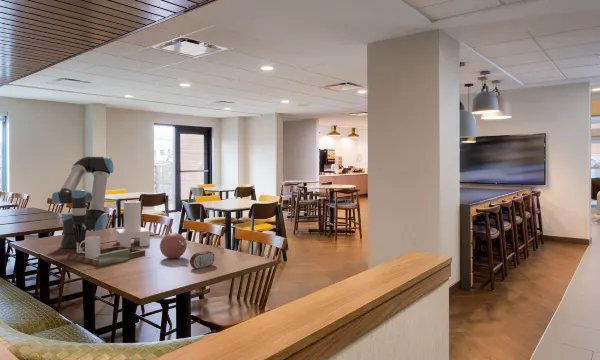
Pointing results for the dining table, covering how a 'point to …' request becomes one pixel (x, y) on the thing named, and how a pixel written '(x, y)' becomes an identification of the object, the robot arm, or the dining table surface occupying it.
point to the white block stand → (132, 226)
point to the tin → (202, 259)
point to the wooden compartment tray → (109, 255)
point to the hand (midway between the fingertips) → (79, 252)
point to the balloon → (173, 245)
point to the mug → (91, 246)
